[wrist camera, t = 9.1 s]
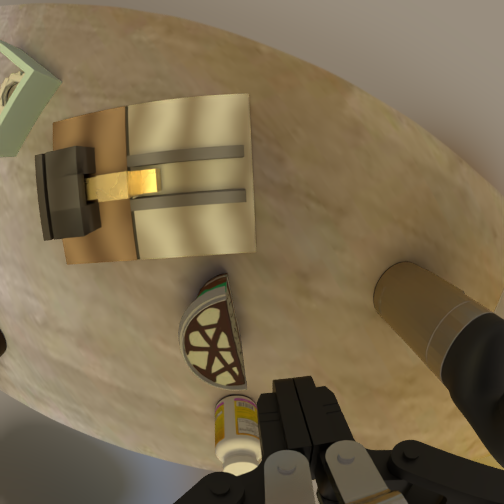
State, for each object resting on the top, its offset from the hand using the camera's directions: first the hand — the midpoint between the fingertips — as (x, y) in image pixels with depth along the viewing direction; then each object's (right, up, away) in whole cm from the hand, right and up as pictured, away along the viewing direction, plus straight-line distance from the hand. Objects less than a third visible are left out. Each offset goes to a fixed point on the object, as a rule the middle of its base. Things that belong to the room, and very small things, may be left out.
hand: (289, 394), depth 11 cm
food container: (-7, -2, +28) cm, 29 cm away
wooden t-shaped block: (-17, +13, +20) cm, 30 cm away
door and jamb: (-14, +14, +23) cm, 30 cm away
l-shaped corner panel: (-35, +27, +18) cm, 47 cm away
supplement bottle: (-4, -19, +33) cm, 38 cm away
